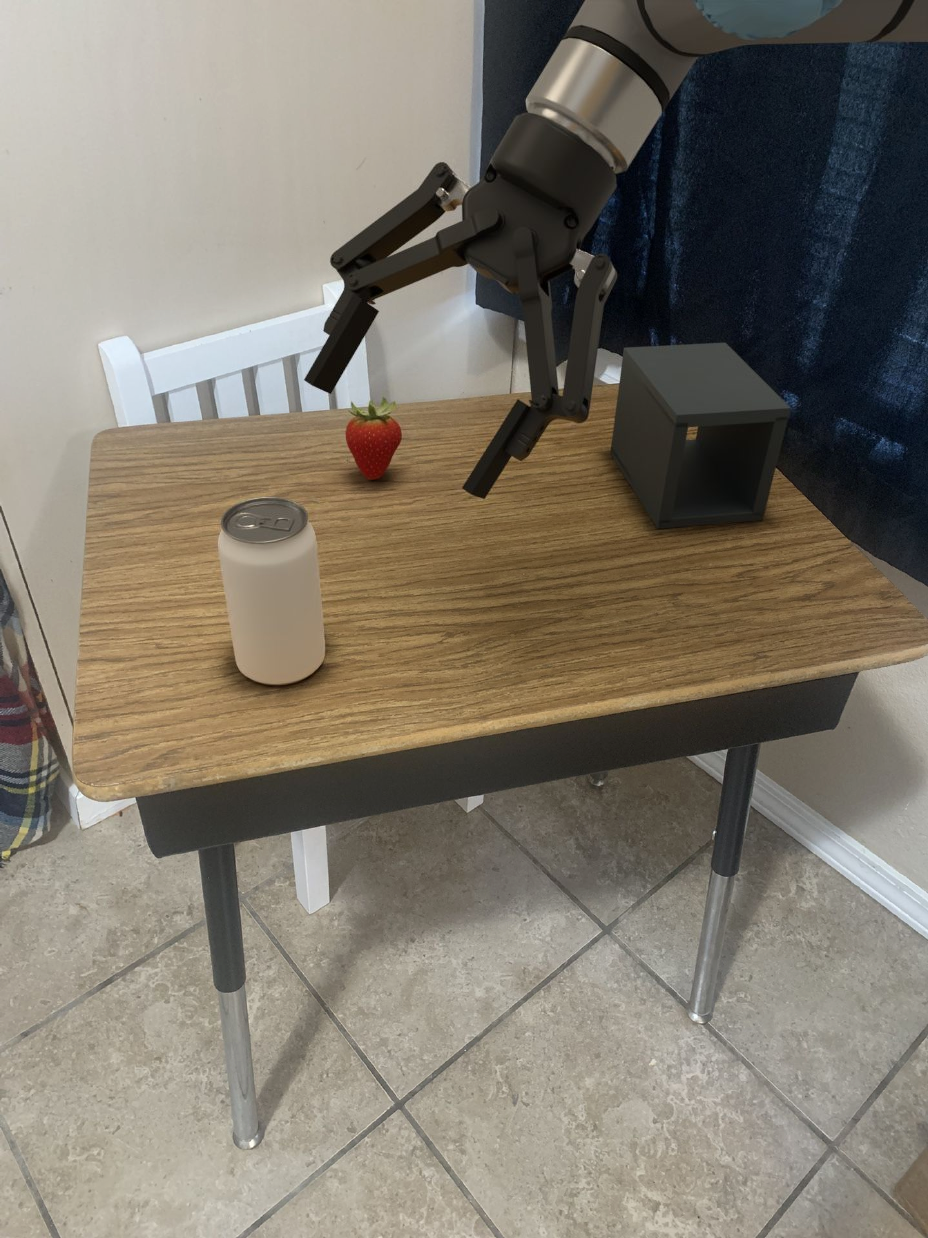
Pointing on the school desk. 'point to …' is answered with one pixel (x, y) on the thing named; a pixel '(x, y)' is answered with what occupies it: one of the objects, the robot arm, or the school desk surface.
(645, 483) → the shelf
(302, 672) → the can
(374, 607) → the school desk surface
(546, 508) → the school desk surface
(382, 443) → the fruit
